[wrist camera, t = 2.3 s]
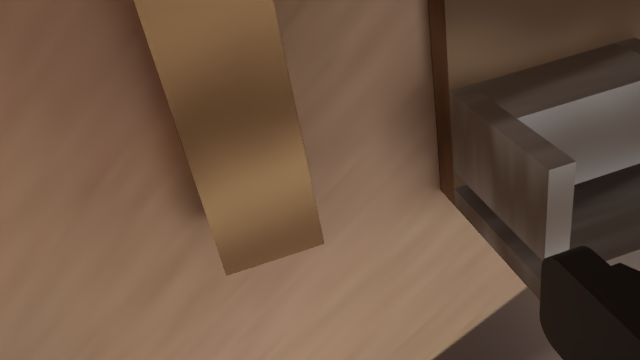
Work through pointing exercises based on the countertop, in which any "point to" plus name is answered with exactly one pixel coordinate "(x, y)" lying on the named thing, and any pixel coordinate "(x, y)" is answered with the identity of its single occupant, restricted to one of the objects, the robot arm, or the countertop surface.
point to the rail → (236, 124)
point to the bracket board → (541, 125)
